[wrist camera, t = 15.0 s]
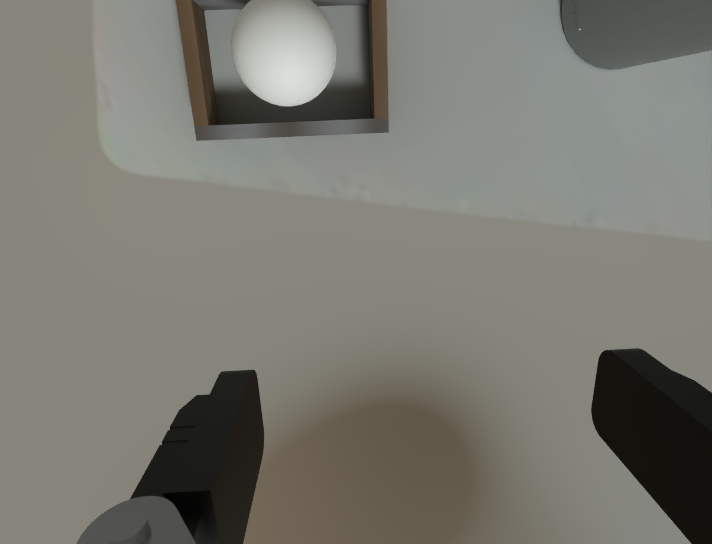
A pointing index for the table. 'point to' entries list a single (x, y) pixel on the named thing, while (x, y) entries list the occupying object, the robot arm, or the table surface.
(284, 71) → the lightbulb
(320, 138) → the table surface
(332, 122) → the brown wooden shallow box
